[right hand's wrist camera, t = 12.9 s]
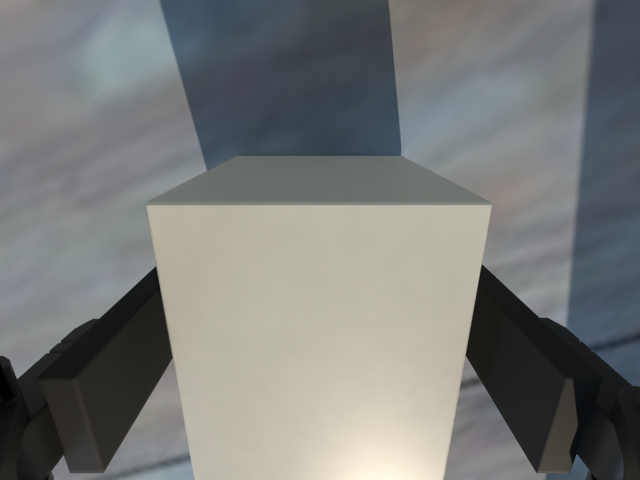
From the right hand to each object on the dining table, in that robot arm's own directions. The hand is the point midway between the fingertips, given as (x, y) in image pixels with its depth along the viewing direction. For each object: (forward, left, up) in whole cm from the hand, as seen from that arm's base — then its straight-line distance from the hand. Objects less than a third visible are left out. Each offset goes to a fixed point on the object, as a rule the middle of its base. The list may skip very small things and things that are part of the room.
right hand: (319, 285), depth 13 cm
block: (0, 0, -4) cm, 4 cm away
